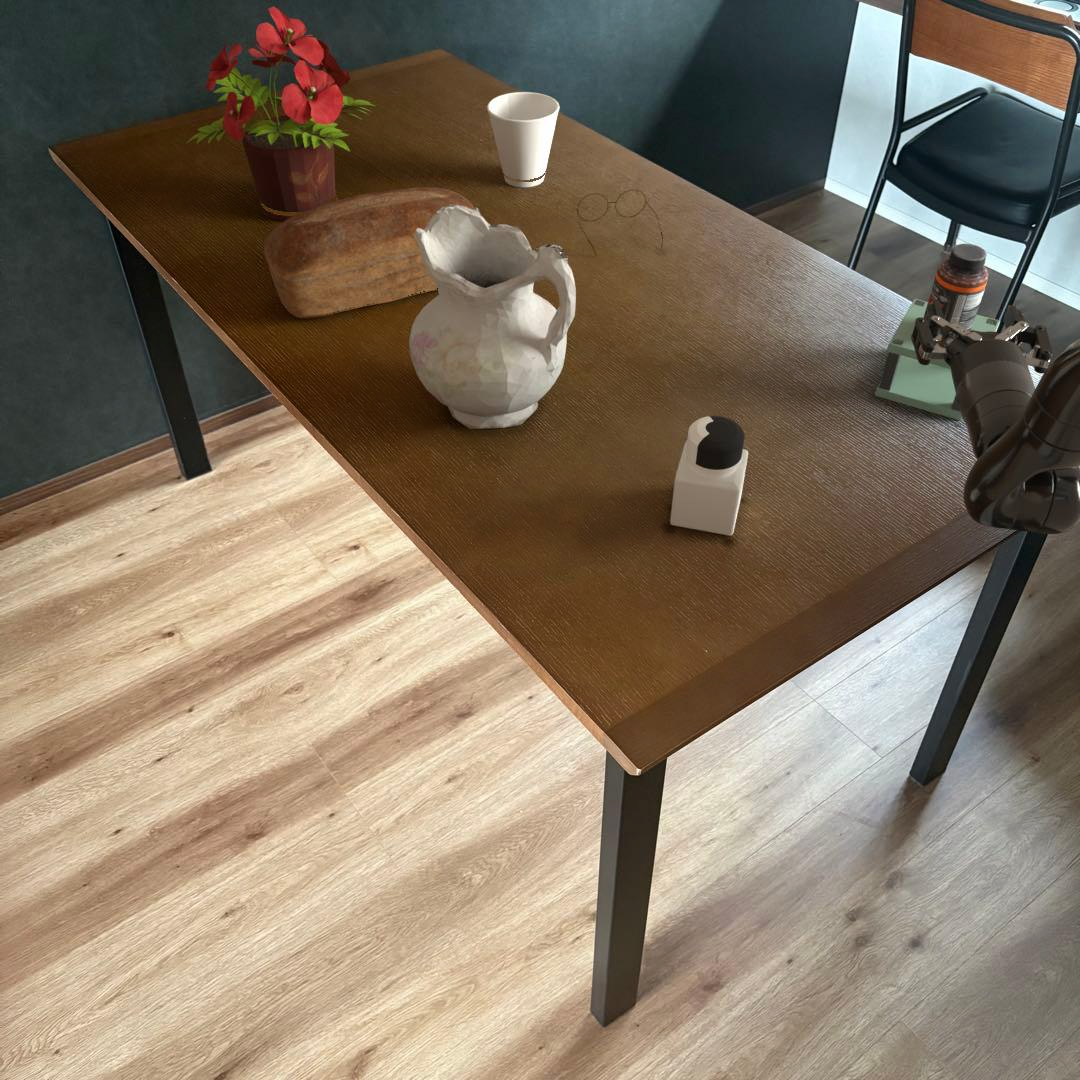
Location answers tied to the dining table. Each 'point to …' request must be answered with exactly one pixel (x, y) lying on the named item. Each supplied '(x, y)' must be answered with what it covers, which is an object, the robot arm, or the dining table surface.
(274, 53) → the potted plant
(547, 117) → the cup
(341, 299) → the bread
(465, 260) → the ceramic pitcher
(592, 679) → the dining table surface
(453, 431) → the dining table surface
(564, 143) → the dining table surface
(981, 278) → the supplement bottle
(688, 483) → the medicine bottle
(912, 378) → the shelf rack
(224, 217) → the dining table surface
